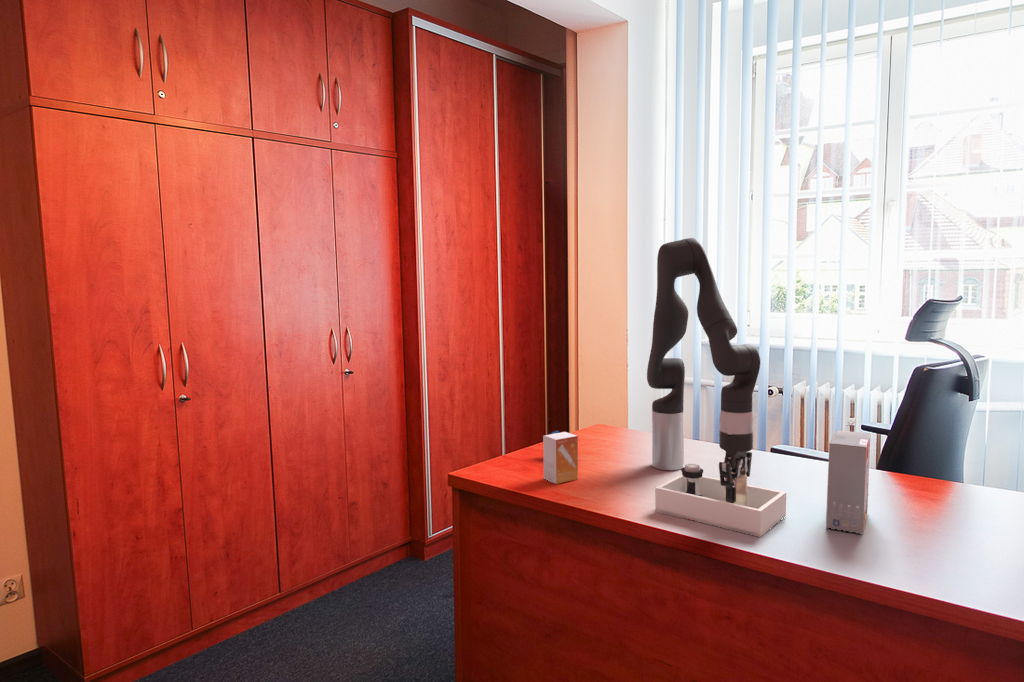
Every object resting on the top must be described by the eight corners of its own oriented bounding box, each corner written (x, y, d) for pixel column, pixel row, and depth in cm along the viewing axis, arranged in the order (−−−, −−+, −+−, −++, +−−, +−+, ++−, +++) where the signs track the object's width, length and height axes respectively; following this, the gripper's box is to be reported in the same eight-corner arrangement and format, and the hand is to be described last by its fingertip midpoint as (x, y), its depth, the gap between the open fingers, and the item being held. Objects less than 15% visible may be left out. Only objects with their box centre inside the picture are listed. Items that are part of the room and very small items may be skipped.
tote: (685, 494, 172) (685, 472, 172) (785, 516, 155) (786, 492, 154) (655, 511, 160) (655, 487, 160) (760, 537, 143) (760, 511, 142)
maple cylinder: (729, 498, 158) (729, 470, 157) (749, 503, 155) (750, 474, 154) (720, 504, 154) (721, 475, 154) (741, 509, 151) (741, 479, 150)
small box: (556, 484, 182) (555, 439, 181) (543, 479, 188) (542, 435, 187) (578, 479, 187) (578, 435, 186) (565, 474, 192) (564, 431, 191)
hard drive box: (863, 535, 143) (866, 447, 141) (825, 529, 147) (827, 443, 145) (868, 513, 156) (870, 432, 154) (833, 508, 160) (835, 428, 158)
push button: (712, 506, 161) (712, 466, 160) (700, 511, 157) (700, 471, 156) (688, 499, 166) (688, 461, 165) (676, 504, 162) (676, 466, 161)
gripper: (733, 421, 161) (732, 488, 162) (707, 432, 150) (707, 503, 152) (763, 425, 156) (762, 494, 157) (739, 437, 145) (738, 511, 147)
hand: (735, 498), depth 154 cm, fingers closed on maple cylinder, 5 cm apart
